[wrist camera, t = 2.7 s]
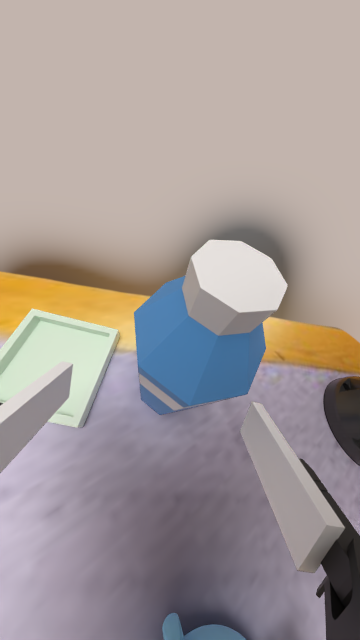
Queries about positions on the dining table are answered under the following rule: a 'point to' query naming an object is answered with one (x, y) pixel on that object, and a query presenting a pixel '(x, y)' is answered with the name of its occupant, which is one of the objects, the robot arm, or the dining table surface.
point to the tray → (58, 359)
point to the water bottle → (207, 328)
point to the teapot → (197, 631)
